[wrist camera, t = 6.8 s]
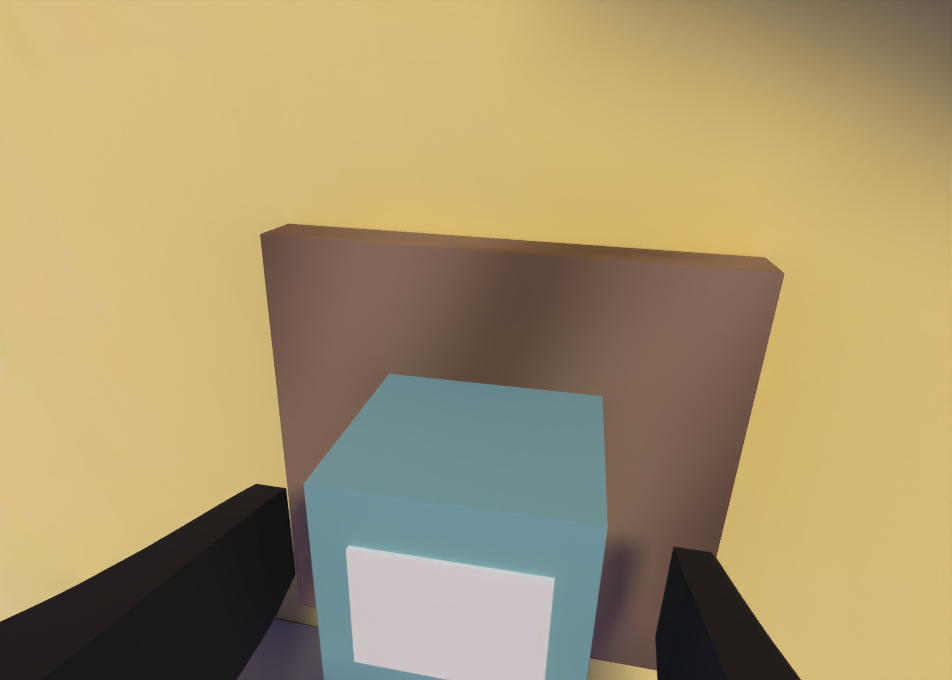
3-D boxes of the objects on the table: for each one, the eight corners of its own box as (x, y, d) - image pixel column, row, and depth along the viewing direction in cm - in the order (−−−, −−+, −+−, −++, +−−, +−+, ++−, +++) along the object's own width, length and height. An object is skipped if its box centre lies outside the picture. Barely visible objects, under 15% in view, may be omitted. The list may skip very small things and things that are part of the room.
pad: (765, 257, 11) (783, 272, 10) (680, 634, 15) (687, 675, 14) (288, 223, 13) (259, 233, 12) (320, 571, 16) (300, 604, 15)
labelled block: (602, 395, 12) (607, 531, 8) (581, 569, 13) (577, 750, 10) (388, 374, 12) (300, 487, 9) (394, 540, 14) (323, 697, 10)
